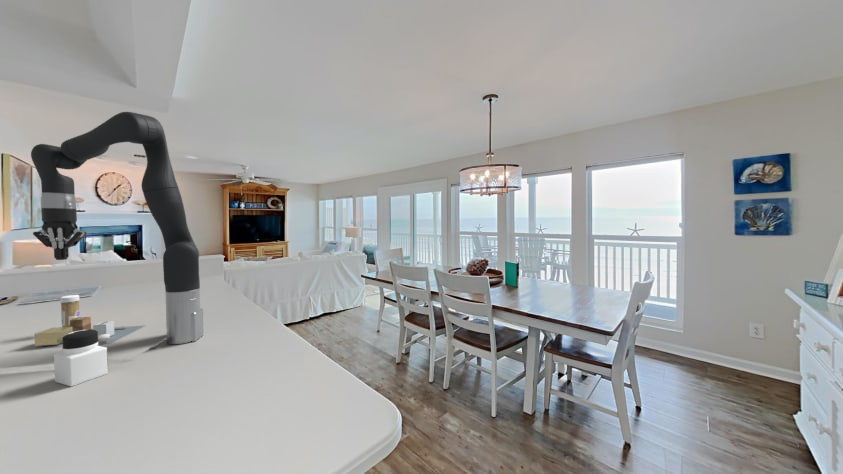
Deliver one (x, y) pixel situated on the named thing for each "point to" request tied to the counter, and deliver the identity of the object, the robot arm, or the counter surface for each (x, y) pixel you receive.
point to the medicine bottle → (80, 358)
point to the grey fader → (104, 328)
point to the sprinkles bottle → (69, 309)
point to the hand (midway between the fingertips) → (61, 259)
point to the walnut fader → (80, 323)
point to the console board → (112, 338)
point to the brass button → (51, 336)
